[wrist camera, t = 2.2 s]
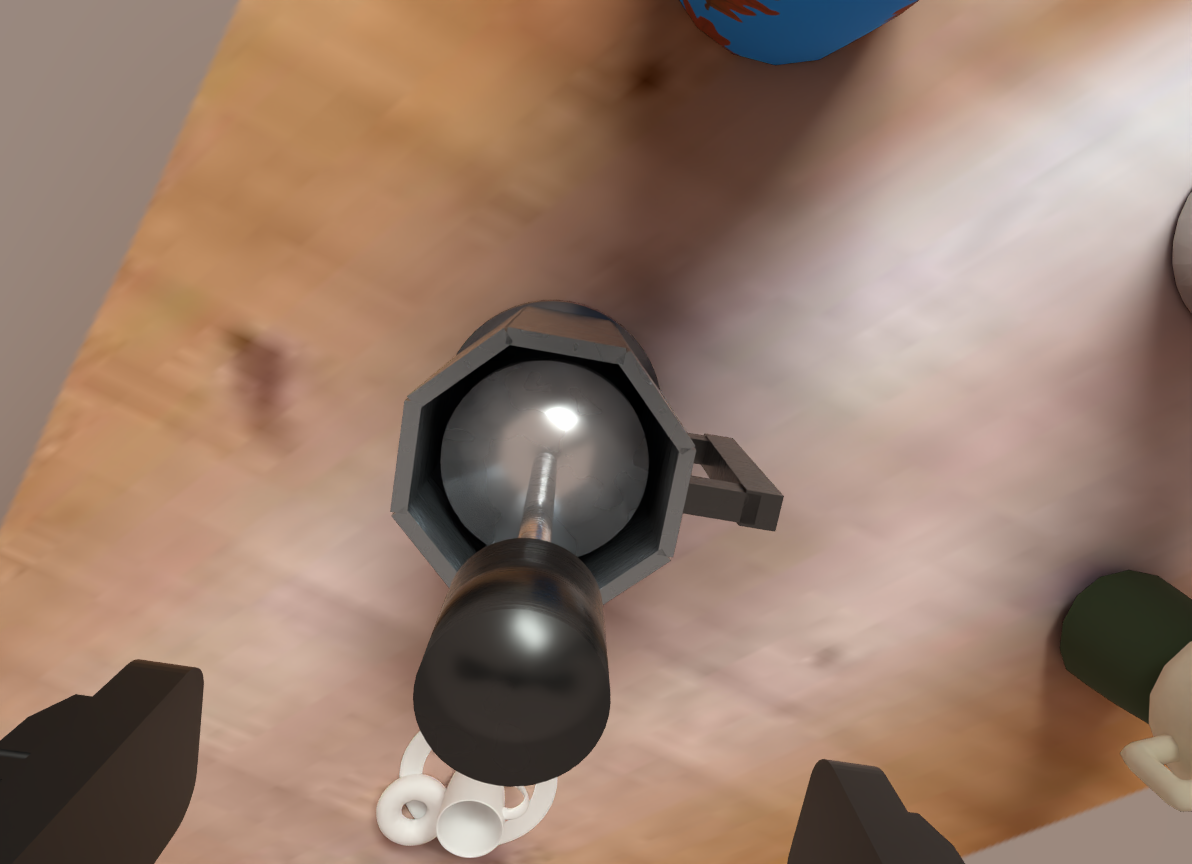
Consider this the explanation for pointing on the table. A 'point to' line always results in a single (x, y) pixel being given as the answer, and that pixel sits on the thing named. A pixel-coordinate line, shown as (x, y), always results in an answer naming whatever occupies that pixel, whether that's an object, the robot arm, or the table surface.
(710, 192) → the table surface
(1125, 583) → the character mug
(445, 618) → the plunger
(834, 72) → the table surface
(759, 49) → the thermos
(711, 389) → the table surface
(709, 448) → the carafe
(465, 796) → the teacup and saucer
